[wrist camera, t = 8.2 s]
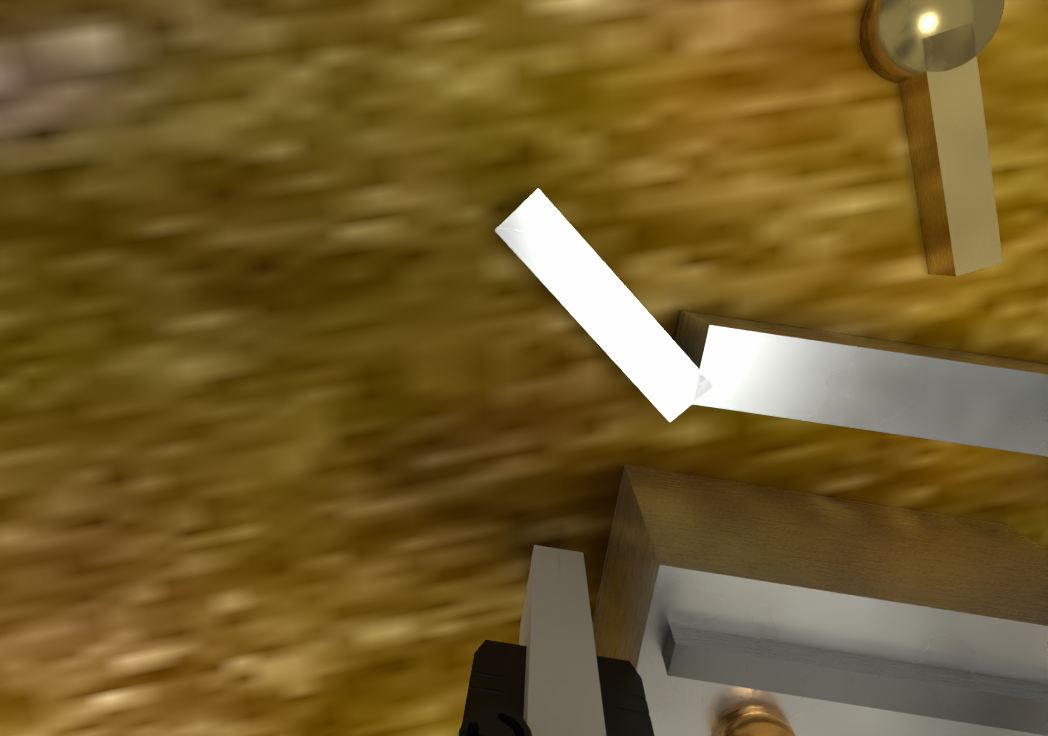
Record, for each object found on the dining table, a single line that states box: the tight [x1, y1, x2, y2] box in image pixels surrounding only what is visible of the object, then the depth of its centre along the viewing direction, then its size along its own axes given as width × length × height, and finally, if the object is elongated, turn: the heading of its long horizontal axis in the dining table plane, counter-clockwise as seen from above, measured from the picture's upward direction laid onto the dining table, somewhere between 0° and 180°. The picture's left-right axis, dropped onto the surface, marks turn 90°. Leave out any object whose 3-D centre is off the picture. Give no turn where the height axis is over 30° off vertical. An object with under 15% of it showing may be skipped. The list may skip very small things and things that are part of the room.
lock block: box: [592, 464, 1048, 736], centre depth 16 cm, size 8×12×7 cm, turn 81°
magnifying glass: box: [860, 0, 1004, 276], centre depth 15 cm, size 8×3×1 cm, turn 17°
